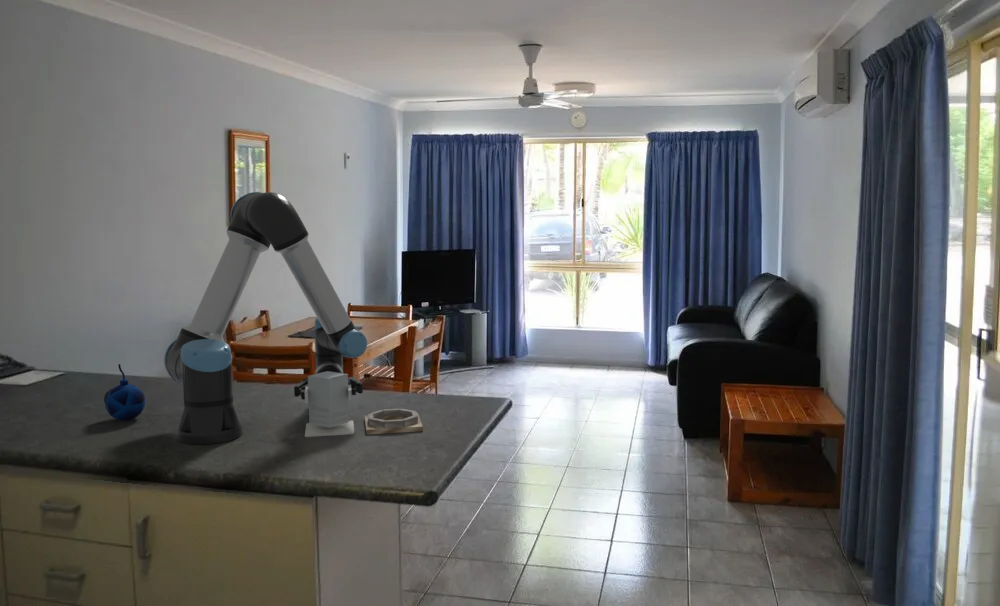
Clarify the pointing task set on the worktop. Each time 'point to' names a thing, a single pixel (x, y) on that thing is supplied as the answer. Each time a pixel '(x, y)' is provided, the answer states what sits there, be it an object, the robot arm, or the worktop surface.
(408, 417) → the ring stand
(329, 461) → the worktop surface
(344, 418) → the supplement box
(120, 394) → the bomb
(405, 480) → the worktop surface
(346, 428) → the coaster
